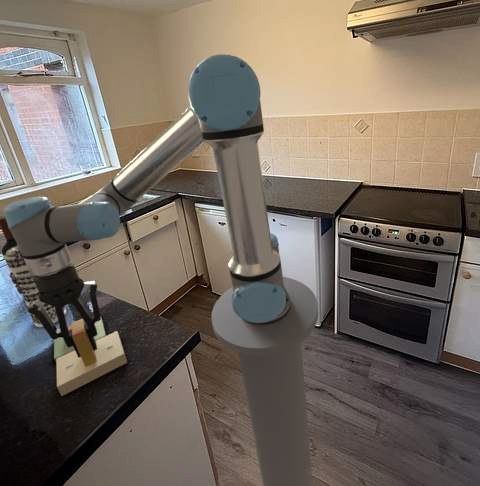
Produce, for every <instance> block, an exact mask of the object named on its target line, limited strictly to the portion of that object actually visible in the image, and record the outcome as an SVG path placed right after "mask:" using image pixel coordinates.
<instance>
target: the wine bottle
mask: <svg viewBox="0 0 480 486" xmlns="http://www.w3.org/2000/svg"><path fill="white" fill-rule="evenodd" d="M8 227H9V226H8V224H7V221H6V218H5V216H1V217H0V230H1V231H2V234H3V236H4V238H5V240H6V242H5V244H4V245H3V246H2V248H1V254H2V256H3V257H4V256H5V255H6V252H7V251H8V250H9V249H11V248H12V247H15V246H18V245H17V242H16V241H15V239H14V237H13V235H12V233H11V231H10V229H9V228H8ZM13 276H14V275H13ZM15 281H16V280H15ZM18 286H19V285H18Z"/></svg>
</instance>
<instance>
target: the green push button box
mask: <svg viewBox="0 0 480 486" xmlns="http://www.w3.org/2000/svg"><path fill="white" fill-rule="evenodd" d="M95 327H96V329H97V335H96V336H94V339H95V341H97V340H99V339H101V338H103V337H105V336H107V333H106V330H105V326H104V321H103V318H102V317H101V320H100V321H97V322H96V323H95ZM74 350H75V349H74V347H73V346H72V347H67V345H66V343H65V341H64V339H63V338H62V337H60V338H57V339H55V340H53V359H54V361H55V362H56V359H57V358H59V357H61V356H63V355H66V354H68V353H70V352H72V351H74Z"/></svg>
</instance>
